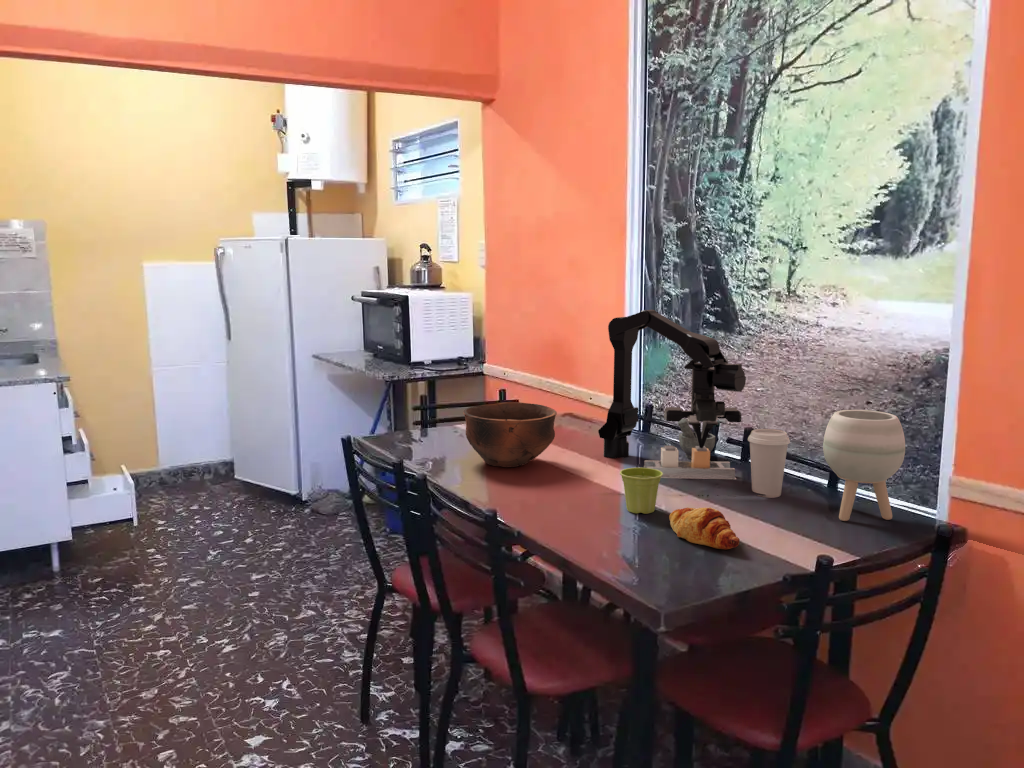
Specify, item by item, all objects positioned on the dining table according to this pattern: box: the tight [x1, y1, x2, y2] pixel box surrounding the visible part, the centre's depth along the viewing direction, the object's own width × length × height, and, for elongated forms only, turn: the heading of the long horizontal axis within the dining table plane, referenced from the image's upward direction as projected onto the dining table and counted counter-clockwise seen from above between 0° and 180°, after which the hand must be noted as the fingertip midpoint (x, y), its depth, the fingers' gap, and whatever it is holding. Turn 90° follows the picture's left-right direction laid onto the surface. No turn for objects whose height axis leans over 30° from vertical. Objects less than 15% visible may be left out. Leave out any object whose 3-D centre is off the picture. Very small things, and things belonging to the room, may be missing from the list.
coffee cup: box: [747, 428, 791, 499], centre depth 192 cm, size 10×10×15 cm
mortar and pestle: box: [677, 418, 716, 460], centre depth 226 cm, size 11×9×12 cm
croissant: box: [668, 506, 740, 550], centre depth 162 cm, size 21×10×8 cm, turn 25°
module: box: [691, 446, 711, 468], centre depth 209 cm, size 4×4×7 cm
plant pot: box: [619, 467, 663, 515], centre depth 180 cm, size 9×9×9 cm
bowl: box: [462, 401, 558, 468], centre depth 221 cm, size 25×25×15 cm
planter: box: [822, 409, 906, 522], centre depth 175 cm, size 16×16×22 cm
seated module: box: [660, 445, 680, 467], centre depth 210 cm, size 4×4×7 cm
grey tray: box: [643, 459, 737, 480], centre depth 210 cm, size 22×12×3 cm, turn 86°
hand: (701, 447), depth 209 cm, fingers closed, pressing on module
